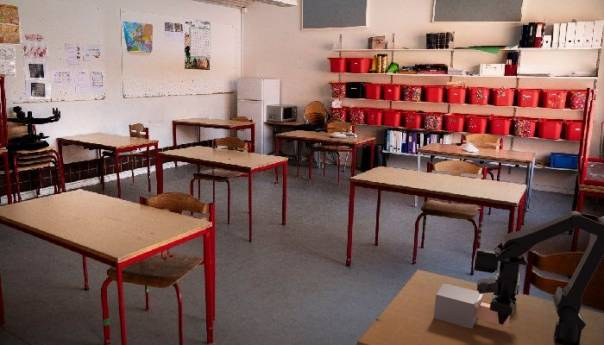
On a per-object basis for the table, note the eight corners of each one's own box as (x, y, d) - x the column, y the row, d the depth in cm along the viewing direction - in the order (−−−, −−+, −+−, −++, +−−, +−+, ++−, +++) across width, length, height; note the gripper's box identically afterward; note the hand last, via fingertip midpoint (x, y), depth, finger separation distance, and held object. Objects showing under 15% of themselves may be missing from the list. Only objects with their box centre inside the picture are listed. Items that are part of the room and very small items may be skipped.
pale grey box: (480, 316, 163) (483, 292, 161) (474, 329, 154) (478, 305, 152) (441, 305, 169) (443, 283, 167) (433, 318, 160) (436, 294, 158)
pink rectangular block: (508, 323, 155) (510, 309, 154) (507, 326, 153) (509, 312, 152) (456, 309, 162) (457, 296, 161) (454, 312, 160) (456, 299, 159)
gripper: (485, 259, 163) (479, 303, 167) (475, 279, 147) (468, 327, 151) (522, 267, 158) (515, 312, 161) (515, 289, 142) (508, 338, 145)
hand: (501, 322), depth 155 cm, fingers closed on pink rectangular block, 2 cm apart
